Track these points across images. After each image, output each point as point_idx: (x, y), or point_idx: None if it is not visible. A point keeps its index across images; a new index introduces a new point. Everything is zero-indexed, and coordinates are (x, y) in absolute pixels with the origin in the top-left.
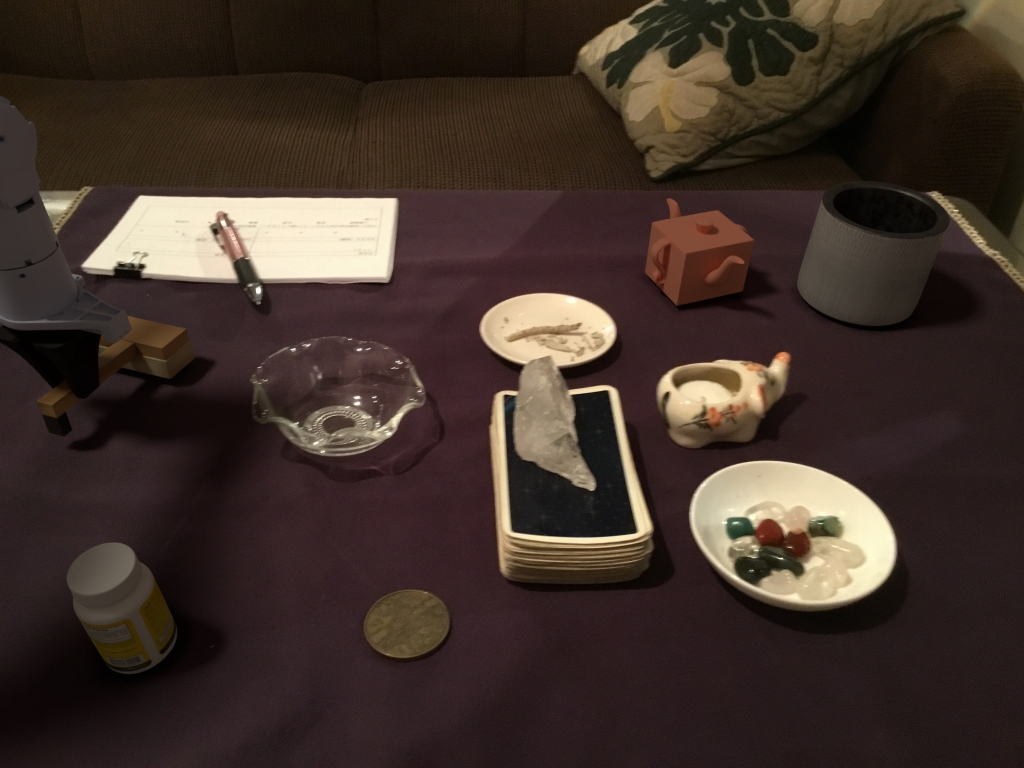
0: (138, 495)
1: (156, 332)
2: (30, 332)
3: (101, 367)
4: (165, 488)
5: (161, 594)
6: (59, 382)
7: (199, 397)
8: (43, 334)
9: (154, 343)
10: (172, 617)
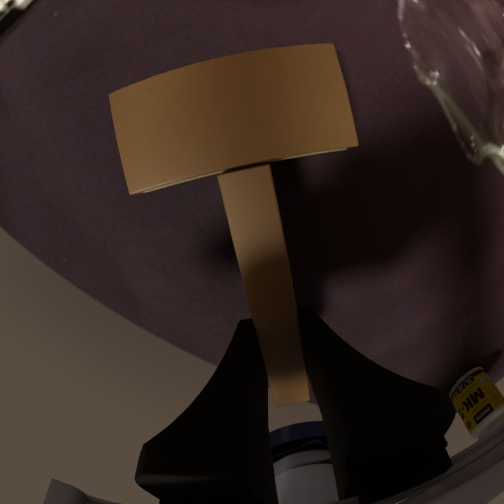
0: (415, 327)
1: (281, 92)
2: (272, 501)
3: (292, 290)
4: (436, 306)
5: (499, 391)
6: (265, 369)
7: (383, 149)
8: (264, 466)
9: (323, 137)
10: (487, 374)
